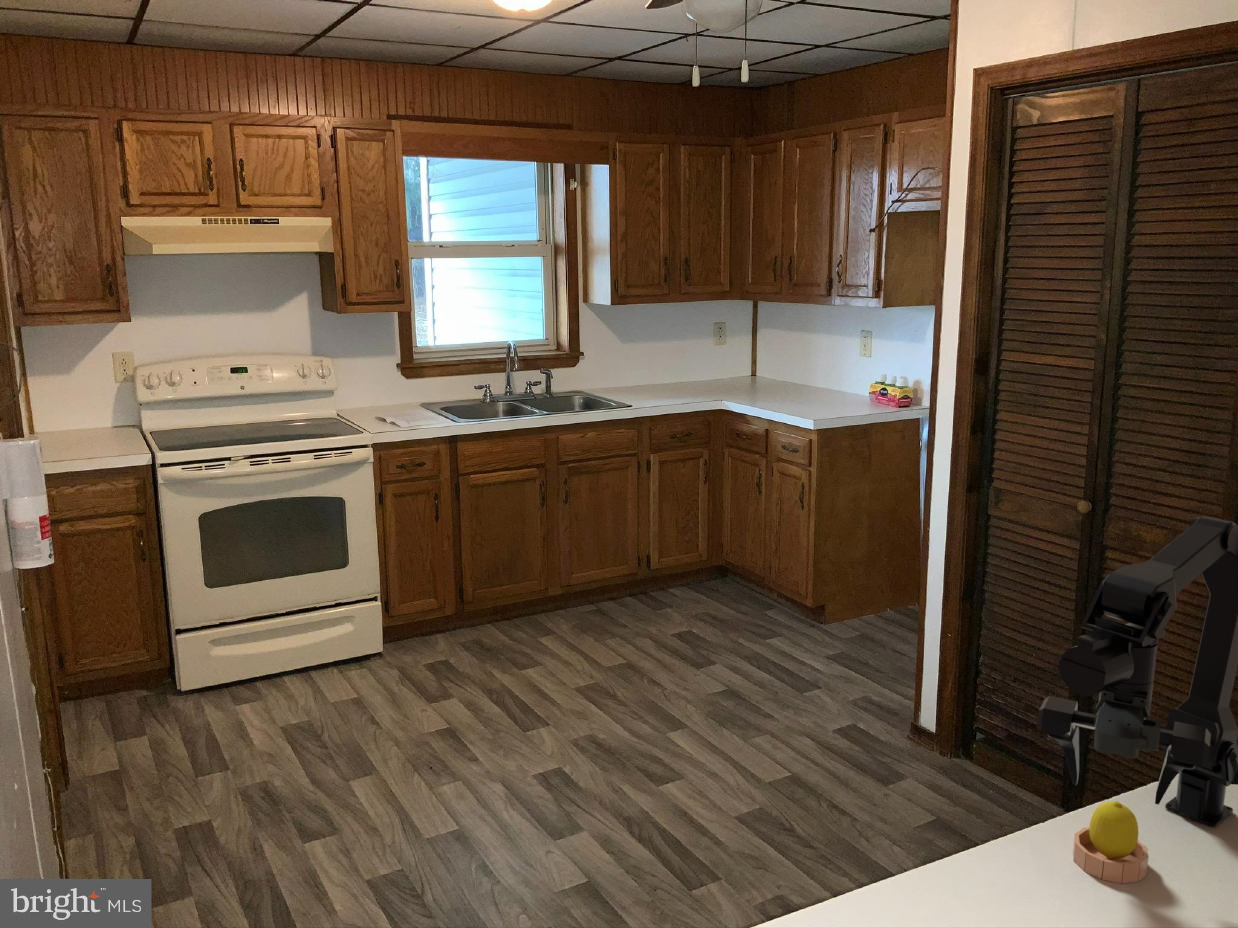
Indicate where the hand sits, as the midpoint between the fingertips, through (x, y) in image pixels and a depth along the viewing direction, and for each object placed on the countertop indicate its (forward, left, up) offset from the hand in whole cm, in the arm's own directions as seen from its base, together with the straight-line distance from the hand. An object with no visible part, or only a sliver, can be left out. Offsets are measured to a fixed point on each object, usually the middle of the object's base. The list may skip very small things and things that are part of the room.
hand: (1115, 792), depth 125 cm
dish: (0, 0, -10) cm, 10 cm away
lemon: (0, 0, -9) cm, 9 cm away
